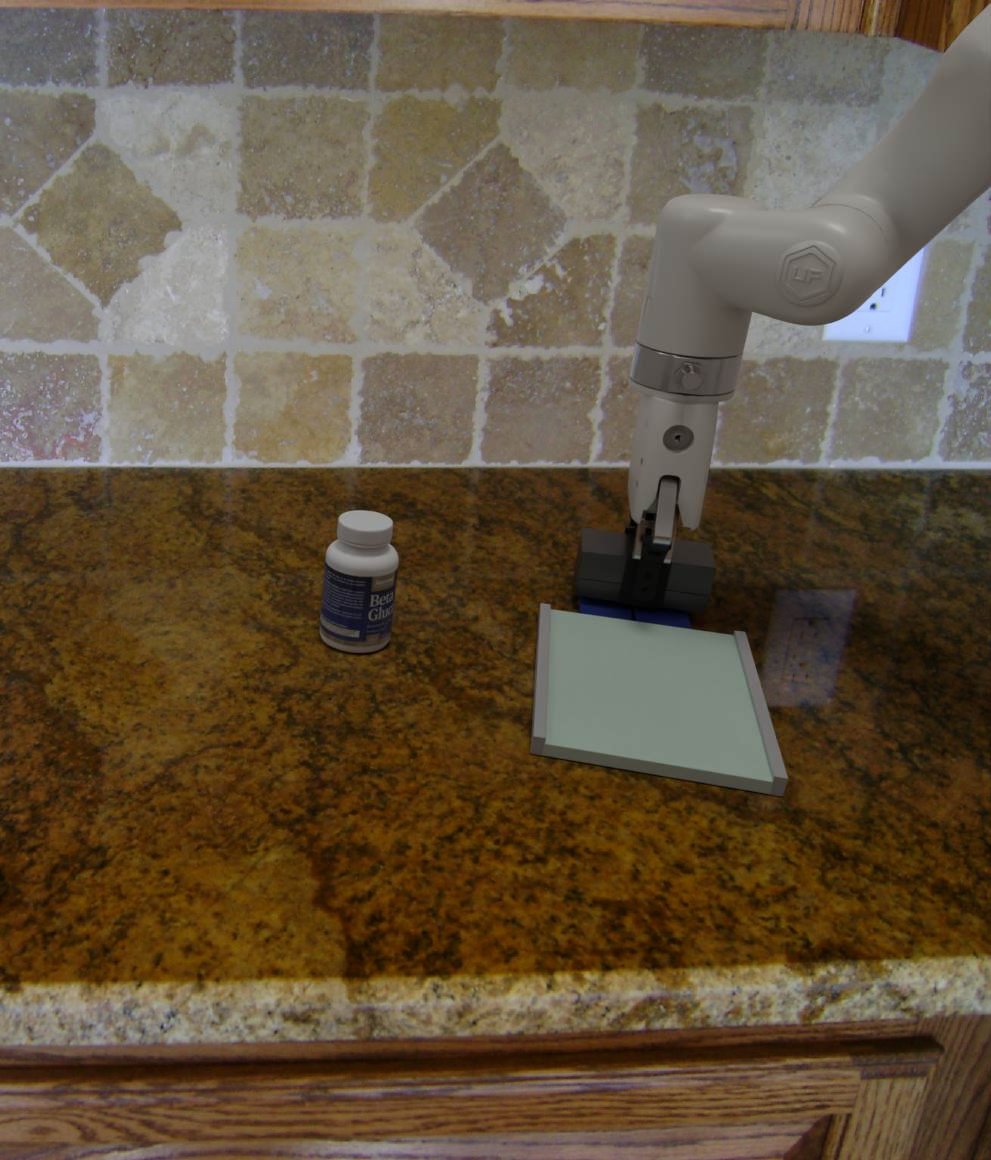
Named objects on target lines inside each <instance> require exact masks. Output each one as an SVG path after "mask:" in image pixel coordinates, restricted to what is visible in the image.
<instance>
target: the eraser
mask: <svg viewBox="0 0 991 1160" xmlns="http://www.w3.org/2000/svg"><path fill="white" fill-rule="evenodd" d="M635 536H636V534H630V533H624V532H621V531H613V530H606V529H604V530H603V529H597V528H589V527H581V529H580V535H579V541H578V546H577V552H576V558H575V562H574V563H575V564H574V568H573V591H574V592H573V594H574V595H573V596H575V597H586V598H593V599H601V600H608V601H615V602H621V600H620V594H621V589H622V584H623V579H624V574H625V569H626V564H627V559H628V555H633V548H634V542H635ZM645 538H646V536H645V535H644V539H645ZM671 560H672V565H671V570H670V574H669V579H668V584H667V588H666V593H665V597H664V602H663V606H662V607H661V608H667V609H674V610H681V611H687V612H689V613H697V614H702V615H703V614H706V613H707V610H708V606H709V602H710V597H711V593H712V590H713V589H712V588H713V585H714V581H715V576H716V573H717V565H716V562H715V558H714V554H713V550H712V547H711V543H709V542H701V541H692V540H684V539H677V538H675V541H674V547H673V553H672V558H671Z"/></svg>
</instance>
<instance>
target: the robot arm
mask: <svg viewBox="0 0 991 1160" xmlns="http://www.w3.org/2000/svg"><path fill="white" fill-rule="evenodd" d="M932 71H933V72H932V73H931V75H930V76H929V78H928V80H927V82H926V83H925V85H924V87H923V88H922V89H921V91H920V92H919V94H918V95H917V96H916V98H915V99H914V101H913V102H912V103H911V104H910V105H909V107H908V108H907V109H906V111H904V112H903V114H902V115H901V116H900V117H899V119H898V120H897V121H896V122H895V123H894V124H893V125H892V126H891V128H889V130H888V131H887V132H886V133H885V134H884V135H883V136H881V138H880V139H879V140H878V141H877V143H876V144H875V145H873V147H871V149H869V151H868V152H867V153H866V154H864V155H863V157H861V158H860V160H859V161H858V162H856V164H855V165H854V166H852V168H851V169H850V170H849V171H848V172H846V174H845V175H844V176H843V177H842V178H841V179H839V181H838V182H837V183H836V184H835V185H834V186H832V188H831V189H829V190H828V192H826V193H825V194H824V196H823V197H821V198H820V199H819V200H818V201H817V202H816V203H815V204H814V205H813V206H811V207H808V208H805V209H801V210H770V209H769V207H767V205H766V204H765V203H763V202H761V201H758V200H756V199H752V198H748V197H744V196H739V195H729V194H717V193H689V194H688V193H687V194H681V195H678V196H674V197H673V198H671V199H669V200H668V201H667V202H666V204H664V206H663V207H662V208H661V211H660V213H659V215H658V220H657V223H656V224H657V225H656V229H655V235H654V240H653V244H652V250H651V251H652V252H651V257H650V262H649V266H648V272H647V277H646V283H645V290H644V294H643V300H642V303H641V304H642V305H641V310H640V314H639V322H638V327H637V332H636V339H635V343H634V346H633V353H632V358H631V364H630V368H629V369H630V370H629V374H628V380H627V385H628V386H629V387H630V388H631V389H632V390H634V391H636V392H638V393H641V397H640V403H639V406H638V411H637V417H636V422H635V427H634V433H633V438H632V444H631V450H630V457H629V459H630V460H629V466H628V476H627V497H628V505H629V511H630V512H629V516H628V522H627V523H628V524H627V526H625V527H624V532H623V533H630V534H636V536H635V542H634V548H633V555H628V559H627V564H626V569H625V574H624V579H623V584H622V589H621V594H620V600H621V602H622V603H623V604H629V605H631V606H633V605H636V606H643V607H651V608H661V607H662V606H663V602H664V597H665V593H666V588H667V584H668V579H669V574H670V570H671V565H672V560H671V558H672V553H673V547H674V541H675V539H676V534H677V529H678V522H679V517H680V519H681V523H682V524H681V525H682V527H683V528H687V530H688V531H691V532H693V531H694V530H696V529H697V528H698V527H700V524H701V523H700V522H701V517H702V511H703V505H704V500H705V494H706V490H707V489H706V488H707V483H708V479H709V474H710V467H711V463H712V456H713V452H714V446H715V438H716V432H717V424H718V417H719V407H720V406H719V405H720V403H722V402H727V401H730V400H731V399H733V398H734V396H735V392H736V391H735V390H736V387H737V382H738V378H739V374H740V369H741V364H742V360H743V355H744V350H745V346H746V343H747V337H748V332H749V329H750V325H751V320H752V315H753V313H754V314H757V315H761V316H763V317H764V316H765V317H768V318H771V319H774V320H777V321H781V322H783V323H787V324H792V325H796V326H797V325H798V326H804V327H807V326H808V327H816V326H824V325H829V324H832V323H836V322H839V321H841V320H843V319H845V318H847V317H849V316H850V315H852V314H854V312H856V311H857V310H859V308H861V307H862V306H863V305H864V304H865V303H866V302H868V300H869V299H870V298H871V297H872V296H873V295H874V294H875V293H876V292H877V291H878V290H880V289H881V288H882V287H883V286H884V285H885V284H886V283H887V282H888V281H889V280H890V279H891V278H892V277H893V276H895V274H896V273H897V272H899V271H900V270H901V269H903V267H904V266H905V265H906V264H907V263H908V262H910V261H911V260H912V259H913V258H914V257H915V256H917V254H918V253H919V252H920V251H921V250H922V249H923V248H925V247H926V246H927V245H928V244H929V243H930V242H932V240H934V239H935V238H936V237H937V236H938V235H939V234H940V233H941V232H942V231H943V230H945V228H946V227H948V226H949V225H950V224H951V223H952V222H953V221H954V220H956V218H958V217H959V216H960V215H961V214H962V213H963V212H964V211H965V210H966V209H968V208H969V207H970V206H971V205H972V204H973V203H975V201H976V200H977V199H979V198H981V196H982V195H983V194H985V193H986V192H987V191H988V190H989V189H990V188H991V2H990V3H989V4H988V5H986V7H985V8H984V9H982V11H980V12H979V14H977V16H976V17H974V18H973V20H972V21H970V23H969V24H968V25H967V26H965V28H964V29H963V30H962V31H961V32H960V33H959V34H958V36H957V37H956V38H955V40H953V41H952V43H951V44H950V45H949V47H948V48H947V49H946V51H945V52H944V53H943V55H942V56H941V57H940V59H939V61H938V62H937V64H936V66H935V68H934V70H932ZM644 535H645V536H646V538H645V539H644Z"/></svg>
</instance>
